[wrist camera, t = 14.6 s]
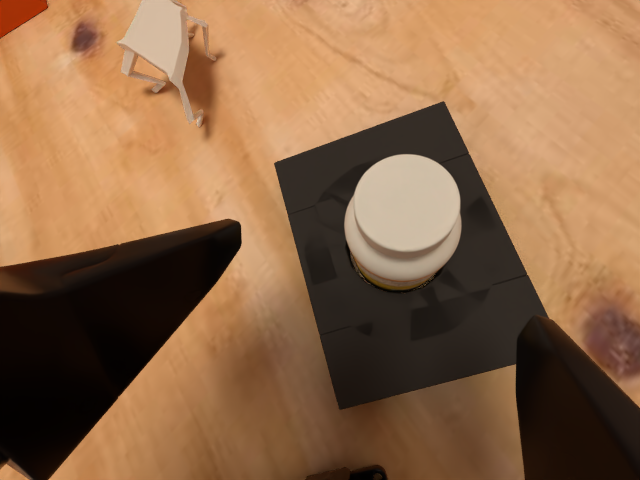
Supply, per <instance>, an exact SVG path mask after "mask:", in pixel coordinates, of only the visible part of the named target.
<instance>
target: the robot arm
mask: <svg viewBox="0 0 640 480" xmlns="http://www.w3.org/2000/svg"><path fill="white" fill-rule="evenodd" d="M241 243H242V240H241V225H240V223H239V222H238V221H235V220H231V219H225V220H221V221H216V222H212V223H208V224H203V225H199V226H195V227H191V228H186V229H182V230H178V231H173V232H169V233H165V234H160V235H156V236H152V237H148V238H143V239H139V240H135V241H130V242H126V243H122V244H120V245H118V244H117V245H113V246H109V247H104V248H100V249H95V250H91V251H86V252H81V253H76V254H71V255H66V256H60V257H55V258H49V259H44V260H38V261H33V262H27V263H22V264H16V265H10V266H4V267H0V469H1V468H2V467H3V466H4V465H5V464H7V465H9V466H10V467H12V468H13V469H15V470H16V471H18V472H19V473H21V474H22V475H24V476H25V477H27V478H28V479H30V480H48V479H49V478H50V477H51V476H52V475H53V474H54V473H55V471H56V470H57V469H58V468H59V467H60V466H61V464H62V463H63V462H64V461H65V460H66V458H67V457H68V456H69V455H70V454H71V453H72V451H73V450H74V449H75V448H76V447H77V446H78V444H79V443H80V442H81V441H82V440H83V439H84V437H85V436H86V435H87V434H88V433H89V432H90V430H91V429H92V428H93V427H94V426H95V425H96V423H97V422H98V421H99V420H100V419H101V418H102V416H103V415H104V414H105V413H106V412H107V411H108V409H109V408H110V407H111V406H112V405H113V404H114V402H115V401H116V400H117V399H118V396H120V395H121V394H122V393H123V392H124V390H125V389H126V388H127V387H128V386H129V385H130V383H131V382H132V381H133V380H134V379H135V378H136V376H137V375H138V374H139V373H140V372H141V371H142V369H143V368H144V367H145V366H146V365H147V363H148V362H149V361H150V360H151V359H152V358H153V356H154V355H155V354H156V353H157V352H158V351H159V349H160V348H161V347H162V346H163V345H164V344H165V342H166V341H167V340H168V339H169V338H170V337H171V335H172V334H173V333H174V332H175V331H176V330H177V328H178V327H179V326H180V325H181V324H182V323H183V321H184V320H185V319H186V318H187V317H188V316H189V314H190V313H191V312H192V311H193V310H194V308H195V307H196V306H197V305H198V304H199V303H200V301H201V300H202V299H203V298H204V297H205V296H206V294H207V293H208V292H209V291H210V290H211V289H212V287H213V286H214V285H215V284H216V282H217V281H218V280H219V278H220V277H221V276H222V274H223V273H224V271H225V270H226V268H227V267H228V265H229V264H230V262H231V261H232V259H233V258H234V256H235V255H236V254H237V252H238V251H239V249H240V247H241ZM516 402H517V411H518V420H519V429H520V438H521V447H522V456H523V465H524V474H525V480H640V408H639V407H638V406H637V405H636V404H635V403H634V402H633V401H632V400H631V399H630V398H629V397H628V396H627V395H626V394H625V393H624V392H623V390H622V389H621V388H620V387H619V386H618V385H617V384H616V383H615V382H614V381H613V380H612V379H611V378H610V377H609V376H608V375H607V374H606V373H605V372H604V371H603V370H602V369H601V368H600V367H599V366H598V365H597V364H596V363H595V362H594V361H593V360H592V359H591V358H590V357H589V356H588V355H587V354H586V353H585V352H584V351H583V350H582V349H581V348H580V347H579V346H578V345H577V344H576V343H575V342H574V341H573V340H572V339H571V338H570V337H569V336H568V335H567V334H566V333H565V332H564V331H563V330H562V329H561V328H560V327H559V326H558V325H557V324H556V323H555V322H554V321H553V320H551V319H549V318H546V317H542V316H539V315H534V316H532V317H531V318H530V319H529V321H528V322H527V324H526V325H525V326H524V328H523V329H522V331H521V332H520V333H519V335H518V338H517V347H516ZM376 473H379V474H380V475H381V476H382V479H381V480H388V477H387V474H386V471H385V469H384V468H383V467H381V466H379V465H374V466H370V467H366V468H362V469H357V470H353V471H350V470H349V469H348V468H346V467H344V468H340V469H336V470H331V471H327V472H323V473H319V474H314V475H310V476H307V477H306V479H305V480H376V479H375V478H374V474H376Z"/></svg>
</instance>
